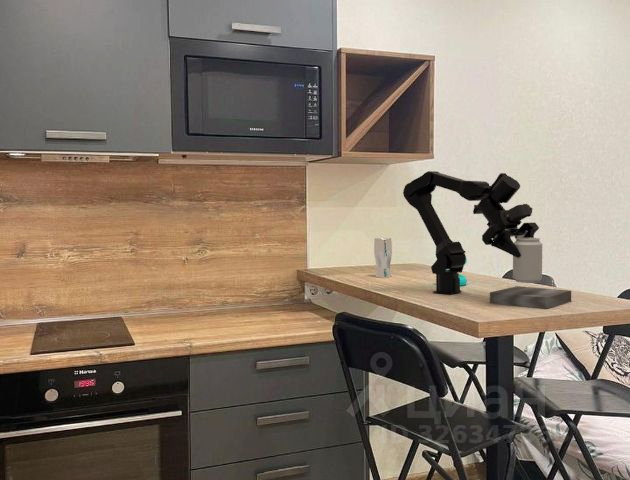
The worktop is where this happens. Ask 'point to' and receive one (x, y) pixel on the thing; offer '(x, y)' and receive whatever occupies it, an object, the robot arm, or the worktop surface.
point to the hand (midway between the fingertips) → (528, 255)
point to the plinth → (530, 297)
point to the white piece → (383, 256)
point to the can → (528, 260)
